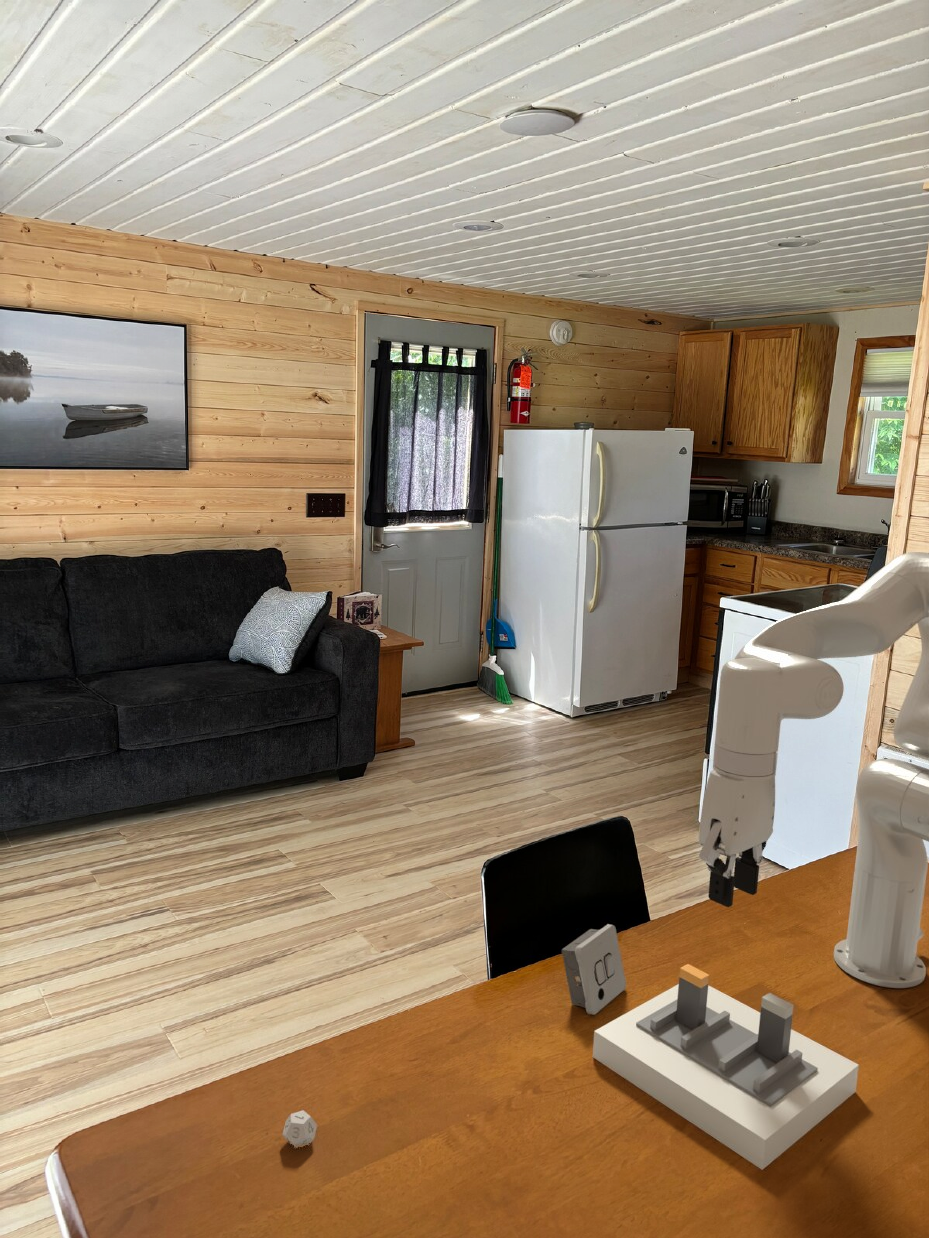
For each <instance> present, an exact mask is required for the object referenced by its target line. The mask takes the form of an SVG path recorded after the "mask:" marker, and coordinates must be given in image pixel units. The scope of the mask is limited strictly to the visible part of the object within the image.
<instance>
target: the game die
mask: <svg viewBox="0 0 929 1238" xmlns="http://www.w3.org/2000/svg"><path fill="white" fill-rule="evenodd" d="M317 1127H318V1124H317V1123H316V1122H315V1120H314V1119H313V1117H312V1116H311V1115H310V1114H308V1113H307V1112H306V1111H305V1110H303V1109H302V1110H300V1111H296V1112H292V1113H290V1115H289V1116H288V1117H287V1118H286V1120H285V1123H284V1127H283V1131H282V1136H283V1137H284V1138H285V1140H286V1139H287V1140H288V1141H290V1143H291V1144H293V1145H294V1146H295V1147H298V1146H301V1145H304V1144H308V1143H310V1144H311V1143H312V1142H313V1141H314V1139H315V1137H316V1131H317ZM287 1140H286V1141H287ZM288 1141H287V1142H288ZM290 1143H289V1144H290ZM291 1144H290V1145H291ZM295 1147H294V1148H295Z"/></svg>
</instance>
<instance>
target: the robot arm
mask: <svg viewBox="0 0 929 1238" xmlns="http://www.w3.org/2000/svg"><path fill="white" fill-rule="evenodd" d="M916 625H917V627H918V631H919V636H920V641H921V654H920V659H919V662H918V666H917V668H916V671H915V674H914V676H913V679H912V680H911V683H910V685H909V688H908V690H907V693H906V695H905V698H904V700H903V702H902V705H901V707H900V709H899V712H898V714H897V717H896V720H895V723H894V726H893V727H894V728H893V739H894V741H895V743H896V745H898V747H899V748H900V749H902V750H903V751H905V752H907V753H909V754H911V755H914V756H915V757H919V758H921V759H925V760H928V761H929V552H922V551H921V552H920V551H913V552H912V551H911V552H906V553H902V554H900V555H897V556H896V557H894V558H893V559H891V560H890V561H889V562H888V563H886V564H885V565H884V566H883V567H882V568H880V569H879V570H878V571H876V572H875V573H874V574H872V575H871V577H869V578H868V579H867V580H866V581H864V582H863V583H862V584H861V585H859V586H858V587H857V588H855V589H854V590H853V591H852V592H851V593H849V594H848V595H847V596H846V597H844V598H842V599H841V600H839V601H836V602H831V603H828V604H824V605H821V606H818V607H814V608H811V609H807V610H806V611H801V612H798V613H796V614H792V615H789V616H787V617H784V618H782V619H779V620H777V621H776V622H773V623H771V624H770V625H768V626H767V627H766V628H764V629H763V630H761V631H760V633H758V634H757V635H756V636H754V637H753V638H751V640H749V641H748V642H747V643H746V644H745V645H744V646H743V647H742V648H741V649H740V650H739V651H738V652H737V654H736V656H735V657H734V659H730V660H729V661H727V662H725V663H724V664H723V666H722V668H721V671H720V677H719V678H720V679H719V688H718V699H717V700H718V702H717V710H716V711H717V712H716V713H717V714H716V725H715V738H714V748H713V760H712V761H713V762H712V770H710V773H709V776H708V778H707V783H706V787H705V790H704V794H703V800H702V801H703V802H702V807H701V814H700V820H699V829H698V844H699V845H701V846H702V848H701V850H700V852H699V855H698V858H699V859H700V860H701V861H702V862H704V863H705V864H706V867H707V870H708V871H709V872H710V873H709V874H710V875H709V882H708V883H709V884H708V886H709V887H708V899H709V900H710V901H713V902H715V903H718V904H719V905H721V906H724V907H726V908H730V907H732V906H733V902H734V900H733V899H734V890H735V889H737V890H739V891H742V892H744V893H746V894H748V895H752V896H754V895H756V894H757V893H758V885H759V875H760V874H759V873H760V864H761V863H762V861H763V852H764V850H765V848H766V846H767V842H768V840H769V839H770V838H771V836H772V834H773V833H774V829H773V828H774V823H775V822H774V820H775V810H776V809H775V807H776V774H777V764H778V754H779V745H780V744H779V743H780V733H781V724H782V721H783V720H785V719H786V720H787V719H788V720H789V719H791V720H815V719H820V718H823V717H825V716H827V715H829V714H831V713H832V712H833V711H835V709H836V708H837V707H838V706H839V705H840V703H841V700H842V699H843V696H844V692H845V690H844V689H845V687H844V682H843V679H842V676H841V674H840V672H839V671H838V670H837V669H836V668H835V667H834V666H833V665H831V664H829V663H827V662H825V661H823V660H822V659H839V658H840V659H841V658H857V657H865V656H866V657H867V656H874V655H876V654H877V655H878V654H881V653H882V652H885V651H887V650H888V649H889V648H890V647H892V646H893V645H894V644H895V643H896V642H897V641H899V640H900V639H901V637H903V636H905V634H906V633H907V632H909V631H910V630H911V629H912V628H913V627H914V626H916ZM855 800H856V808H857V822H858V833H857V844H856V845H857V846H856V855H855V861H854V862H855V864H854V872H853V879H852V880H853V883H852V887H851V888H852V891H851V897H850V907H849V915H848V924H847V925H848V926H847V933H846V938H845V939H842V940H840V941H839V942H838V943H836V944H835V946H834V949H833V959H834V961H835V962H836V964H837V965H838V966H839V968H840V969H842V970H843V971H844V972H845V973H847V974H848V975H850V976H852V977H854V978H856V979H858V980H860V981H863V982H865V983H868V984H871V985H874V986H879V987H883V988H890V989H907V988H913V987H916V986H918V985H920V984H922V983H923V981H924V980H925V978H926V974H927V973H926V971H927V968H926V965H925V964H924V962H923V960H922V959H921V958H919V956H918V955H917V950H918V949H917V948H918V944H919V943H918V942H919V940H921V939H922V938H923V937H924V931H923V929H922V927H920V926H921V919H922V911H923V904H924V903H923V902H924V895H925V888H926V880H927V876H928V874H927V873H928V867H929V865H928V864H929V863H928V861H929V860H928V853H927V848H926V845H925V843H924V841H926V842H929V768H927V767H924V766H920V765H917V764H914V763H910V762H907V761H903V760H900V759H896V758H895V759H894V758H879V759H875V760H873V761H871V762H869V763H868V764H866V765H865V766H864V768H862V770H861V772H860V773H859V775H858V778H857V781H856V788H855ZM722 846H724V847H722ZM720 855H722V856H724V857H726V859H725V862H724V861H723V859H721V858H720V857H721V856H720ZM737 855H738V856H737Z"/></svg>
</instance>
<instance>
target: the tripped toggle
mask: <svg viewBox="0 0 929 1238" xmlns="http://www.w3.org/2000/svg"><path fill="white" fill-rule="evenodd" d="M709 980H710V974H708V973H706V972H704V971H702V970H701V969H699V968H697V967H695V966H693V965H691V964H689V963H687V964H685V965H683V966H681V967H680V968H679V976H678V984H679V987H678V999H677V1012H676V1021H678V1022H680V1023H681V1024H683V1025H685V1026H687V1027H688V1028H690V1029H692V1030H694V1029H695V1028H697V1027H699V1026H700V1025H702V1024H704V1023H705V1018H706V1006H707V995H708V985H709V984H710V983H709Z"/></svg>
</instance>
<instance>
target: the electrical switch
mask: <svg viewBox="0 0 929 1238" xmlns="http://www.w3.org/2000/svg"><path fill="white" fill-rule="evenodd" d="M561 954H562V956H561V957H562V960H563V966H564V969H565V977H566V980H567V986H568V990H569V997H570V1000H571V1005H572V1006H579V1007H581V1008H585V1010H586V1012H585V1013H587V1014H588V1015H597V1013H599V1012H600V1011H601V1010H602V1009H603V1008H604V1007H605V1006H607V1005H608V1004H609V1003H610V1002H612V1001H613V1000H615V998H617V996H619V994H621V993H622V992H623V991H625V989H626V987H627V982H626V981H627V980H626V975H625V970H624V965H623V959H622V954H621V949H620V945H619V939H618V935H617V929H616V926H615V925H613V924H609V923H607V924H606V925H604V926H603V927H602V928H600V929H595V928H594V929H593V928H590V929H588V930H587V931H585V932H584V933H582V934H581V935H580V936H578V937H577V938H576V939H574V940H573V941H571V942H570V943H569V944H567V945H566V946H565V947H563V948H562V949H561ZM575 977H576V978H575Z"/></svg>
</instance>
